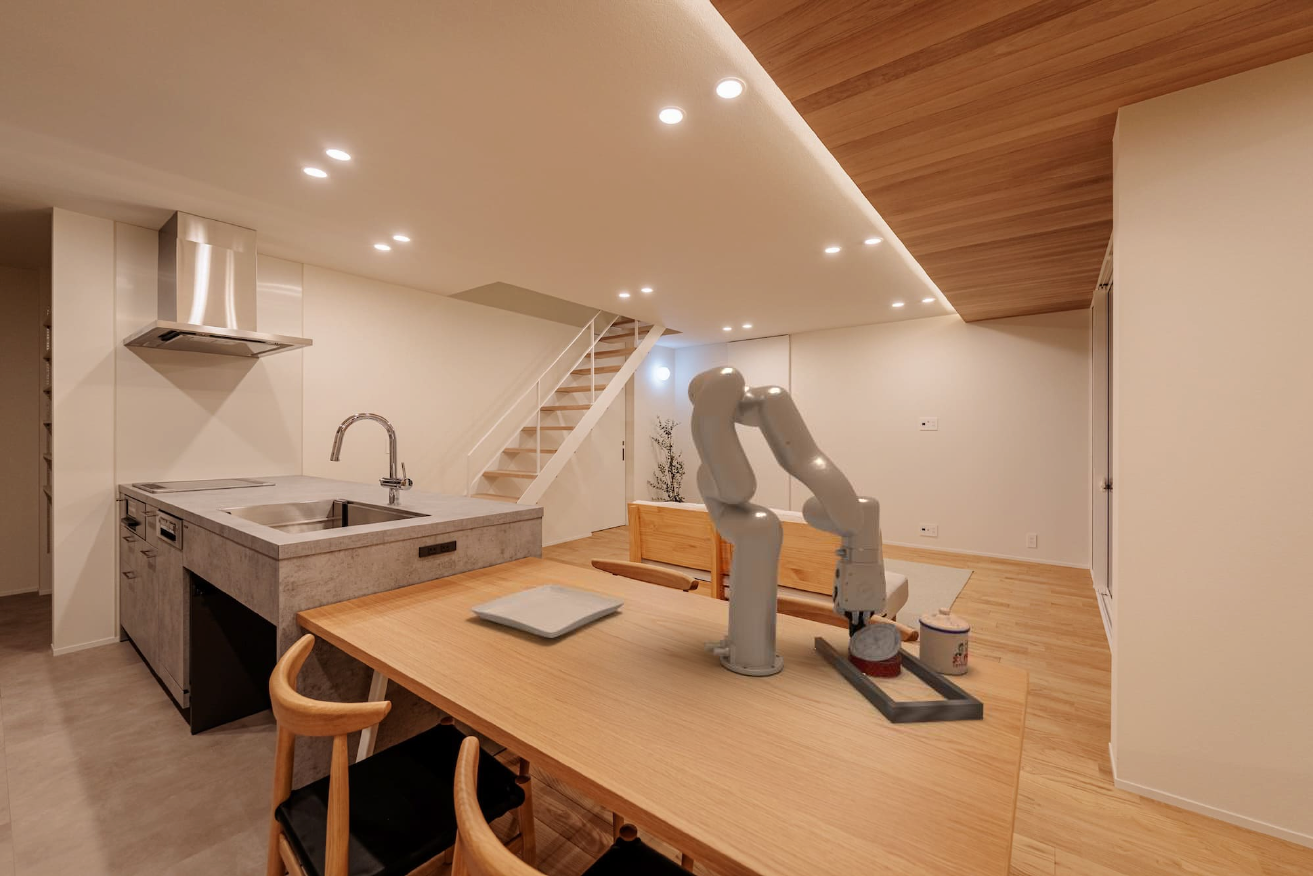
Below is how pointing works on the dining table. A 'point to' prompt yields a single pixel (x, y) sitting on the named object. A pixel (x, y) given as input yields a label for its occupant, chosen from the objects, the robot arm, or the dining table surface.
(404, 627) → the dining table surface
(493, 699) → the dining table surface
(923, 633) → the teacup with lid
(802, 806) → the dining table surface
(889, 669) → the canned food
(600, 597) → the square plate
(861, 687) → the can dock
